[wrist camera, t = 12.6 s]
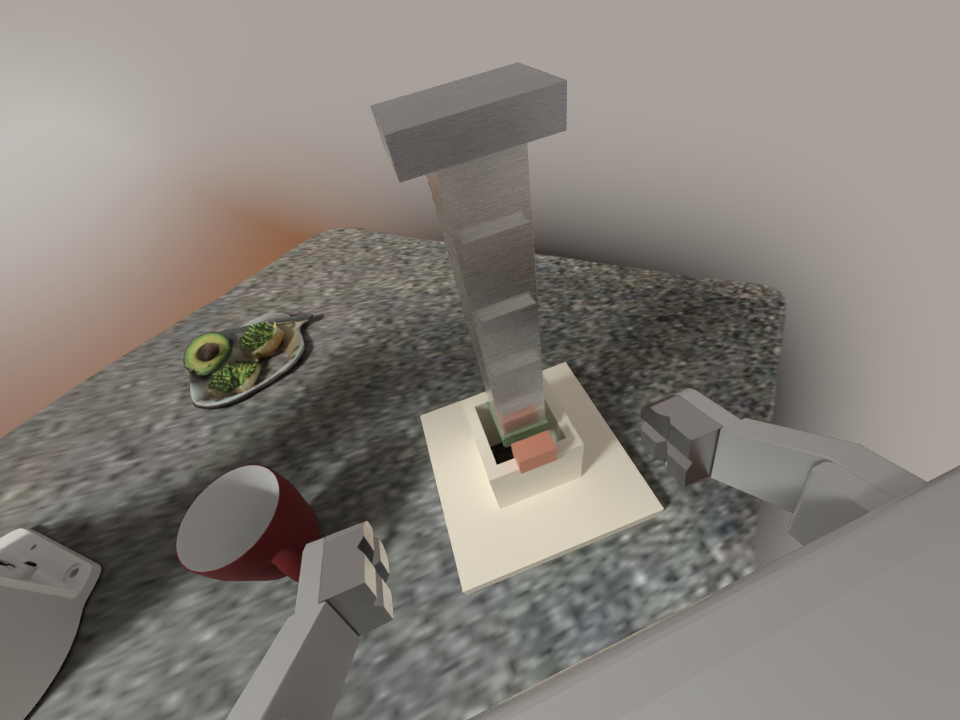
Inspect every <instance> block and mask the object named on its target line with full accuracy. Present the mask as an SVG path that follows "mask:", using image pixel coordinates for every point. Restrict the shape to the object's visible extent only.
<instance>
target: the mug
mask: <svg viewBox="0 0 960 720" xmlns="http://www.w3.org/2000/svg"><path fill="white" fill-rule="evenodd" d="M318 539H320V534H319V523H318V519H317V517H316V514H315V513H314V511H313V510H312V508H311V507H310V506H309V504H308V503H307V502H306V501H305V499H304V498H303V497H302V496H301V494H300V493H299V492H298V491H297V489H296V488H295V487H294V486H293V485H292V484H291V483H290V482H289V481H288V480H286V479H285V478H284V477H282V476H281V475H279V474H278V473H276V472H274V471H273V470H271V469H269V468H268V467H265V466H262V465H246V466H242V467H238V468H236V469H233V470H231V471H229V472H227V473H225V474H224V475H222V476H220V477H219V478H217V479H216V480H215V481H213V482H212V483H211V484H210V485H209V486H207V487H206V488H205V489H204V490H203V491H202V492H201V493H200V494H199V495H198V497H197V498H196V499H195V500H194V502H193V503H192V504H191V506H190V507H189V509H188V510H187V512H186V514H185V515H184V517H183V519H182V521H181V524H180V526H179V529H178V533H177V537H176V554H177V558H178V560H179V562H180V564H181V565H182V566H183V567H184V568H185V569H187V570H189V571H191V572H193V573H196V574H199V575H203V576H206V577H209V578H213V579H218V580H224V581H268V580H276V579H280V578H283V577H286V576H288V577H290V578H291V579H293V580H294V581H296V582H298V583H299V577H300V570H301V562H302V554H303V550H304V548H305V546H306V544H308V543H311V542H313V541H316V540H318Z"/></svg>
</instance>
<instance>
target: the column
mask: <svg viewBox="0 0 960 720" xmlns="http://www.w3.org/2000/svg"><path fill="white" fill-rule="evenodd" d="M566 97H567V80H565V79H562V78H560V77H557V76H554V75H551V74H549V73H545V72H543V71H540V70H537V69H535V68H532V67H529V66H526V65H523V64H521V63H514V64H511V65H508V66H504V67H501V68H497V69H494V70H491V71H488V72H484V73H480V74H477V75H474V76H471V77H467V78H464V79H460V80H457V81H453V82H450V83H447V84H443V85H440V86H436V87H433V88H430V89H426V90H423V91H419V92H416V93H413V94H409V95H406V96H402V97H399V98H396V99H393V100H389V101H386V102H382V103H379V104H375V105H372V106H371V109H372V112H373V115H374V118H375V121H376V124H377V127H378V130H379V133H380V135H381V139H382V142H383V144H384V147H385V150H386V152H387V154H388V157H389V159H390V161H391V164H392V166H393V168H394V170H395V173H396V175H397V177H398V180H399V182H403V181H406V180H410V179H413V178H416V177H419V176H422V175H425V174H426V176H427V179H428V183H429V187H430V191H431V194H432V198H433V201H434V205H435V209H436V212H437V216H438V219H439V223H440V227H441V231H442V234H443V238H444V242H445V245H446V249H447V252H448V256H449V260H450V263H451V267H452V271H453V274H454V278H455V282H456V285H457V289H458V293H459V296H460V300H461V303H462V307H463V311H464V314H465V318H466V322H467V325H468V329H469V333H470V336H471V340H472V343H473V347H474V351H475V354H476V358H477V362H478V365H479V369H480V373H481V376H482V380H483V384H484V387H485V391H486V394H487V398H488V401H487V405H488V409H489V411H490V414H491V416H492V419H493V421H494V424H495V426H496V429H497V431H498V433H499V436H500V438H501V441H502V443H503V446H504V447H509V446H511V444H513V443H516V442H518V441H521V440H523V439H526V438H529V437H531V436H534V435H536V434H539V433H542V432H544V431H547V430H549V427H548V421H547V419H546V417H545V404H544V389H543V374H542V359H541V344H540V329H539V314H538V299H537V284H536V269H535V254H534V240H533V224H532V210H531V195H530V181H529V165H528V150H527V142H531V141H534V140H537V139H540V138H543V137H546V136H550V135H553V134H556V133H559V132H562V131H565V130H566V110H567V109H566V108H567V103H566V102H567V98H566Z"/></svg>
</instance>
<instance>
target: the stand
mask: <svg viewBox="0 0 960 720" xmlns="http://www.w3.org/2000/svg"><path fill="white" fill-rule="evenodd" d="M542 374H543V389H544V404H545V417H546V419H547V421H548V427H549V430H547V431H544V432H542V433H539V434H536V435H534V436H531V437H529V438H526V439H523V440H521V441H518V442H516V443H513V444H511V447H512V451H513V456H514V459H511V460H509V461H506V462H503V463H501V464H498V465H497V464H496V461H495V459H494V456H493V454H492V451H491V448H490V447H491V446H494V445H497V444H499V443H502V441H501V438H500V436H499V433H498V431H497V429H496V426H495V424H494V421H493V419H492V416H491V414H490V411H489V409H488V405H487V401H488V398H487V394H486V392H483V393H480V394H478V395H475V396H472V397H470V398H467V399H464V400H461V401H459V402H456V403H453V404H451V405H448V406H445V407H442V408H440V409H437V410H434V411H432V412H429V413H426V414H423V415H421V416H420V417H421V421H422V425H423V430H424V434H425V438H426V442H427V446H428V450H429V454H430V458H431V462H432V467H433V471H434V475H435V479H436V483H437V487H438V491H439V495H440V499H441V504H442V508H443V512H444V516H445V520H446V524H447V528H448V532H449V536H450V540H451V545H452V549H453V553H454V557H455V561H456V565H457V569H458V573H459V577H460V582H461V586H462V590H463V592H464V593H465V594H466V595H468V594H471V593H473V592H475V591H478V590H480V589H483V588H485V587H487V586H490V585H492V584H495V583H497V582H500V581H502V580H504V579H507V578H509V577H512V576H514V575H516V574H519V573H521V572H524V571H526V570H528V569H531V568H533V567H536V566H538V565H541V564H543V563H545V562H548V561H550V560H553V559H555V558H557V557H560V556H562V555H565V554H567V553H570V552H572V551H574V550H577V549H579V548H582V547H584V546H586V545H589V544H591V543H594V542H596V541H598V540H601V539H603V538H606V537H608V536H611V535H613V534H615V533H618V532H620V531H623V530H625V529H627V528H630V527H632V526H635V525H637V524H639V523H642V522H644V521H647V520H649V519H652V518H654V517H656V516H659V515H661V513H662V512H663V510H664V508H663V507H662V505H661V504H660V502H659V501H658V499H657V498H656V496H655V495H654V493H653V492H652V490H651V489H650V487H649V486H648V484H647V483H646V481H645V480H644V478H643V477H642V475H641V474H640V472H639V471H638V469H637V468H636V466H635V465H634V463H633V462H632V460H631V459H630V457H629V456H628V454H627V453H626V451H625V450H624V448H623V447H622V445H621V444H620V442H619V441H618V440H617V438H616V437H615V435H614V434H613V432H612V431H611V429H610V428H609V426H608V425H607V423H606V422H605V420H604V419H603V417H602V416H601V414H600V413H599V411H598V410H597V408H596V407H595V405H594V404H593V402H592V401H591V399H590V398H589V396H588V395H587V393H586V392H585V390H584V389H583V387H582V386H581V384H580V383H579V381H578V380H577V378H576V377H575V375H574V374H573V372H572V371H571V369H570V368H569V366H568V365H567V363H566V362H564V363H562V364H559V365H556V366H554V367H551V368H548V369H545V370H543V371H542Z"/></svg>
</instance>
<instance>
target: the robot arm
mask: <svg viewBox="0 0 960 720" xmlns="http://www.w3.org/2000/svg"><path fill="white" fill-rule="evenodd" d="M641 418H642V419H643V420H644V421H645V422H644V424H643V425H642V427H641V429H640V430H641V439H642V442H643V444H644V446H645V448H646V449H647V451H648V452H649V453H650V454H651V455H652V456H653V457H654V458H655V459H658V460H661V461H664V462H665V464H666V470H667V471H668V472H669V473H670V474H671V475H672V476H673V477H674V478H675V479H677V480H678V481H679V482H680V483H681V484H682V485H683V486H684V487H685V486H688V485H690V484H692V483H695V482H697V481H700V480H702V479H704V478H707V477H709V476H711V478H713V479H716V480H718V481H720V482H722V483H725V484H727V485H729V486H732V487H734V488H736V489H739V490H741V491H743V492H746V493H748V494H750V495H752V496H755V497H757V498H759V499H762V500H764V501H767V502H769V503H771V504H774V505H776V506H778V507H780V508H783V509H785V510H787V511H789V512H792V513H793V515H792V518H791V520H790V522H789V525H788V533H789V534H790V535H792V536H793V537H794V538H795V539H796V540H797V541H799V542H800V543H801V544H802V545H803V547H801V548H799V549H797V550H795V551H793V552H791V553H789V554H788V555H785V556H784V557H782V558H780V559H778V560H776V561H774V562H772V563H770V564H768V565H766V566H764V567H762V568H760V569H758V570H756V571H754V572H753V573H751V574H749V575H747V576H745V577H743V578H741V579H739V580H737V581H735V582H733V583H731V584H729V585H727V586H725V587H723V588H722V589H720V590H718V591H716V592H714V593H712V594H710V595H708V596H706V597H704V598H702V599H700V600H698V601H696V602H694V603H692V604H691V605H689V606H687V607H685V608H683V609H681V610H679V611H677V612H675V613H673V614H671V615H669V616H667V617H665V618H663V619H661V620H660V621H658V622H656V623H654V624H652V625H650V626H648V627H646V628H644V629H642V630H640V631H638V632H636V633H634V634H632V635H630V636H629V637H627V638H625V639H623V640H621V641H619V642H617V643H615V644H613V645H611V646H609V647H607V648H605V649H603V650H601V651H599V652H598V653H596V654H594V655H592V656H590V657H588V658H586V659H584V660H582V661H580V662H578V663H576V664H574V665H572V666H570V667H568V668H567V669H565V670H563V671H561V672H559V673H557V674H555V675H553V676H551V677H549V678H547V679H545V680H543V681H541V682H539V683H538V684H536V685H534V686H532V687H530V688H528V689H526V690H524V691H522V692H520V693H518V694H516V695H514V696H512V697H510V698H508V699H507V700H505V701H503V702H501V703H499V704H497V705H495V706H493V707H491V708H489V709H487V710H485V711H483V712H481V713H479V714H477V715H476V716H474V717H472V718H470V719H468V720H960V466H958V467H956V468H954V469H952V470H950V471H949V472H946V473H944V474H943V475H941V476H939V477H937V478H935V479H933V480H931V481H929V482H926V481H924V480H923V479H921V478H919V477H917V476H915V475H914V474H912V473H910V472H908V471H906V470H905V469H903V468H901V467H899V466H897V465H896V464H894V463H892V462H890V461H888V460H887V459H885V458H883V457H881V456H879V455H877V454H876V453H874V452H872V451H870V450H869V449H867V448H865V447H863V446H861V445H860V444H856V443H852V442H847V441H843V440H839V439H834V438H830V437H826V436H821V435H817V434H813V433H808V432H804V431H800V430H795V429H791V428H787V427H782V426H778V425H774V424H769V423H765V422H761V421H756V420H752V419H748V418H745V419H742V420H740V419H739V418H737V417H736V416H734V415H733V414H731V413H730V412H728V411H727V410H725V409H724V408H722V407H721V406H719V405H718V404H716V403H715V402H713V401H711V400H710V399H708V398H707V397H705V396H704V395H702V394H701V393H699V392H698V391H696V390H694V389H691V388H688V389H686V390H683V391H681V392H678V393H676V394H674V395H670V396H668V397H666V398H663V399H661V400H659V401H656V402H654V403H652V404H649V405H647V406H645V407H643V409H642V410H641ZM100 573H101V566H100V565H99V564H97V563H95V562H93V561H92V560H90V559H88V558H86V557H84V556H82V555H80V554H78V553H76V552H75V551H73V550H71V549H69V548H67V547H65V546H63V545H61V544H59V543H58V542H56V541H54V540H52V539H50V538H48V537H46V536H44V535H42V534H41V533H39V532H37V531H35V530H32V529H26V528H19V529H17V530H15V531H13V532H11V533H9V534H7V535H5V536H3V537H1V538H0V720H23V719H24V718H25V717H26V716H27V715H28V714H29V712H30V711H31V710H32V709H33V707H34V706H35V705H36V704H37V702H38V701H39V699H40V698H41V697H42V695H43V694H44V693H45V691H46V690H47V688H48V687H49V685H50V684H51V682H52V681H53V679H54V678H55V676H56V674H57V673H58V671H59V669H60V667H61V666H62V664H63V662H64V660H65V658H66V656H67V654H68V652H69V650H70V648H71V645H72V643H73V641H74V638H75V635H76V632H77V629H78V626H79V622H80V618H81V614H82V610H83V607H84V604H85V602H86V600H87V598H88V596H89V595H90V593H91V591H92V589H93V588H94V586H95V584H96V582H97V580H98V578H99V575H100ZM388 576H389V565H388V560H387V555H386V551H385V549H384V546H383V544H382V542H381V541H380V539H379V538H377V537H373V528H372V527H371V525H370V524H369V522H368V521H365V522H362V523H360V524H357V525H354V526H352V527H349V528H346V529H344V530H341V531H339V532H336V533H333V534H331V535H328V536H326V537H323V538H321V539H318V540H316V541H313V542H311V543H308V544H306V546H305V548H304V550H303V554H302V562H301V570H300V577H299V585H298V593H297V601H296V608H295V614H294V615H292V616H290V617H288V619H287V620H286V622H285V623H284V625H283V627H282V628H281V630H280V632H279V633H278V635H277V637H276V638H275V640H274V642H273V643H272V645H271V646H270V648H269V650H268V651H267V653H266V655H265V656H264V658H263V660H262V661H261V663H260V665H259V666H258V668H257V669H256V671H255V673H254V674H253V676H252V678H251V679H250V681H249V683H248V684H247V686H246V688H245V689H244V691H243V692H242V694H241V696H240V697H239V699H238V701H237V702H236V704H235V706H234V707H233V709H232V711H231V712H230V714H229V715H228V717H227V719H226V720H330V719H331V717H332V714H333V711H334V709H335V706H336V703H337V700H338V698H339V695H340V692H341V689H342V687H343V684H344V681H345V679H346V676H347V673H348V670H349V668H350V665H351V662H352V660H353V657H354V654H355V651H356V649H357V646H358V643H359V641H360V637H359V636H361V635H363V634H365V633H367V632H369V631H371V630H373V629H375V628H377V627H379V626H382V625H384V624H386V623H388V622H390V621H392V620H394V619H393V608H392V596H391V591H390V589H389V588H388V586H387V585H386V581H387V579H388Z"/></svg>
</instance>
